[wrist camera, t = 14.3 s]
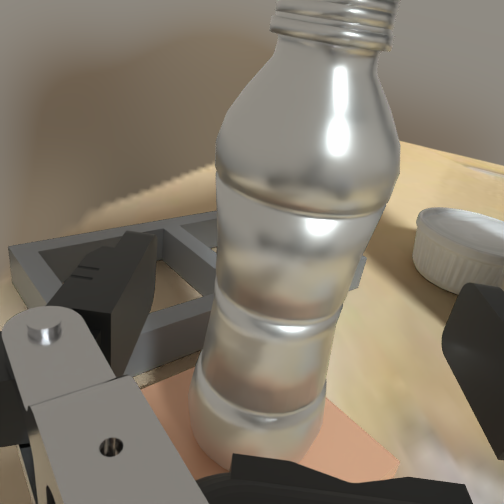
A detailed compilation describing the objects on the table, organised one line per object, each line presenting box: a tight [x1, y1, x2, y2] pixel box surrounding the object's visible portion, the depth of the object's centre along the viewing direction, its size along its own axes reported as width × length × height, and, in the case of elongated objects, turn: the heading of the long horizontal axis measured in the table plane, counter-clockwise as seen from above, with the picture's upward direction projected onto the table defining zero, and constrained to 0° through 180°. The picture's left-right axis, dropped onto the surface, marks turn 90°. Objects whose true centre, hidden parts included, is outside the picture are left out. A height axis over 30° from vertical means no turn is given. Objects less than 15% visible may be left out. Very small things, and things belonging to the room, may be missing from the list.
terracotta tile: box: [141, 367, 400, 483], centre depth 23 cm, size 11×11×1 cm
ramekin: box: [412, 207, 504, 295], centre depth 44 cm, size 11×11×5 cm
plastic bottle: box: [188, 0, 400, 471], centre depth 18 cm, size 6×7×20 cm
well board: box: [8, 211, 367, 377], centre depth 36 cm, size 24×13×3 cm, turn 130°
